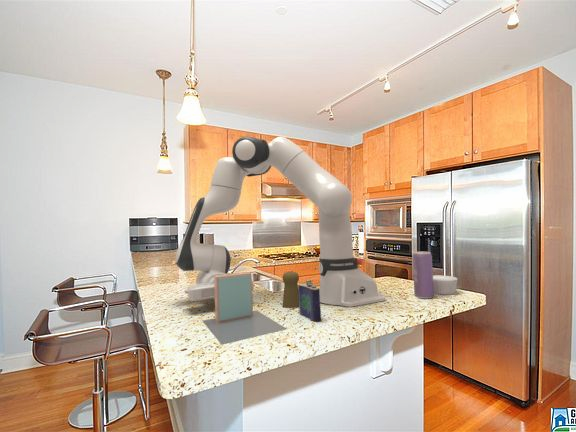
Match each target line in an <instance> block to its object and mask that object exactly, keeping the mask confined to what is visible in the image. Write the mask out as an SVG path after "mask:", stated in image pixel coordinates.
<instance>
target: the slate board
mask: <svg viewBox="0 0 576 432" xmlns="http://www.w3.org/2000/svg"><path fill="white" fill-rule="evenodd" d="M202 322H203V323H204V324H205V327H206V328H208V330H209V331H210V332H211V333H212V335H213V336H214V337H215V338H216V339H217V341H218V342H219V344H220V345H221V346H222V345H227V344H231V343H235V342H239V341H243V340H246V339H247V340H249V339H251V338H255V337H259V336H264V335H268V334H273V333H276V332H280V331H285V330H288V328H287V327H285V326H283V325H281V324H280V323H278V322H277V321H275V320H273V319H272V318H270V317H269V316H267V315H265V314H264V313H262V312H260V311H259V310H253V316H251V317H246V318H241V319H236V320H231V321H226V322H221V323H217V322H216V321H215V317H214V318H209V319H203V320H202Z"/></svg>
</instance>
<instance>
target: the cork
mask: <svg viewBox="0 0 576 432" xmlns="http://www.w3.org/2000/svg"><path fill="white" fill-rule="evenodd" d="M299 279H300V275H299V274H298V272H296V271H287V272H284V273H283V274H282V282H283V284H284V285H283V286H284V287H283V297H282V307H283V308H285V309H297V308H299V288H298V285H299V284H298V282H299Z"/></svg>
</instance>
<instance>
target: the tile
mask: <svg viewBox="0 0 576 432" xmlns="http://www.w3.org/2000/svg"><path fill="white" fill-rule="evenodd" d="M227 274H228V275H219V276H214V288H215V300H214V312H215V313H214V314H215V315H214V318H215V321H216V322H217V323H221V322H226V321H231V320H236V319H241V318H246V317H251V316H253V311H254V308H253V305H254V304H253V291H252V280H253V274H252V272H250V271H247V272H240V273H239V272H238V273H227Z"/></svg>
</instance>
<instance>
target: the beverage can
mask: <svg viewBox="0 0 576 432" xmlns="http://www.w3.org/2000/svg"><path fill="white" fill-rule="evenodd" d="M432 257H433V256H432V253H431V252H430V251H413V252H412V256H411V258H412V276H413V293H414V296H415V298H417V299H424V300H431V299H433V298H434V296H435V294H434V285H433V275H434V272H433V269H434V268H433V258H432Z"/></svg>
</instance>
